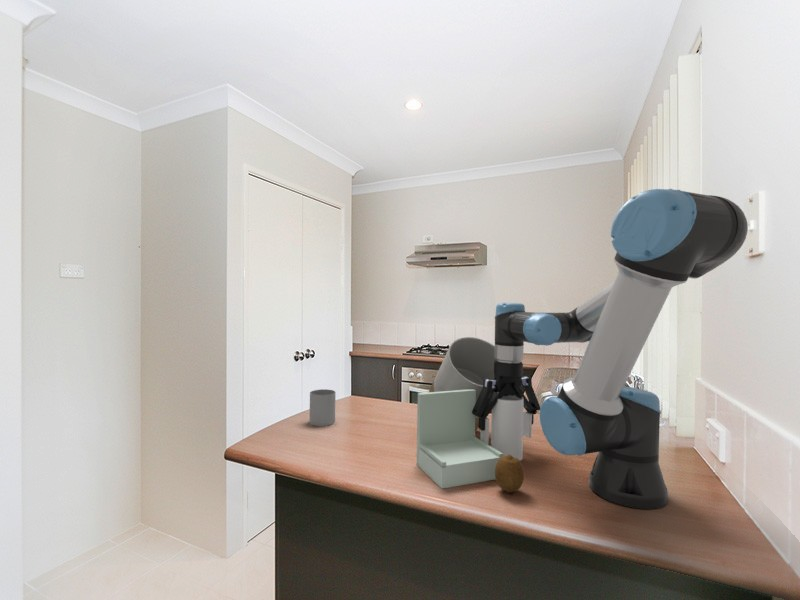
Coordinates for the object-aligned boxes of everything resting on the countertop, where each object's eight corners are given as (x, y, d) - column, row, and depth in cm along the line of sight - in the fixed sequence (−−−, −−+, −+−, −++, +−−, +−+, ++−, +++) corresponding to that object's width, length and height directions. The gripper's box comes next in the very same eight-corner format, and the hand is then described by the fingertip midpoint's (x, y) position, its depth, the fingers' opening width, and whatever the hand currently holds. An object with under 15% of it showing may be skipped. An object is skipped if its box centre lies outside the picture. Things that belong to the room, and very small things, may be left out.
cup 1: (308, 419, 140) (309, 390, 140) (332, 417, 143) (333, 388, 143) (310, 427, 132) (311, 395, 132) (336, 425, 135) (337, 394, 135)
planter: (437, 380, 143) (462, 327, 127) (486, 410, 138) (518, 359, 122) (412, 417, 129) (437, 362, 113) (466, 451, 124) (500, 399, 108)
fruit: (488, 491, 91) (489, 454, 90) (504, 482, 95) (504, 447, 95) (514, 501, 86) (515, 463, 86) (529, 491, 90) (529, 455, 90)
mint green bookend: (502, 478, 97) (504, 401, 97) (441, 488, 91) (443, 407, 91) (471, 456, 110) (472, 389, 110) (416, 464, 104) (417, 393, 104)
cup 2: (523, 463, 106) (525, 401, 106) (491, 460, 107) (492, 399, 107) (521, 452, 114) (522, 394, 114) (490, 449, 115) (491, 392, 115)
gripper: (536, 356, 118) (534, 429, 119) (460, 360, 109) (458, 439, 110) (555, 360, 111) (552, 438, 112) (475, 365, 102) (473, 449, 103)
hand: (506, 439), depth 111 cm, fingers open, 13 cm apart
